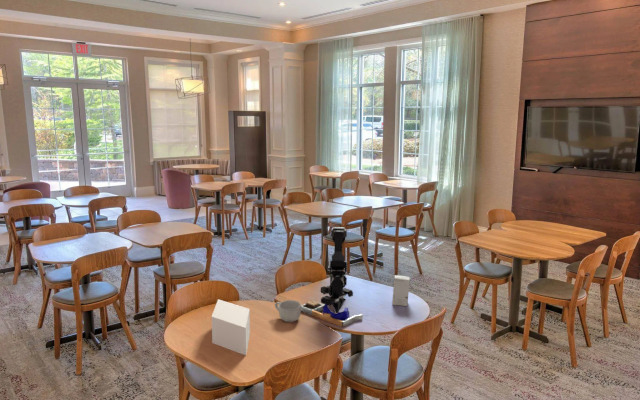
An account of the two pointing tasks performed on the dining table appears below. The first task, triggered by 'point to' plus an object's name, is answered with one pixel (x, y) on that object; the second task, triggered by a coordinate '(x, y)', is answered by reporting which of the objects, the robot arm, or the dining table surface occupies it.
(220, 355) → the dining table surface
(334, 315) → the cable clip
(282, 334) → the dining table surface
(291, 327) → the dining table surface
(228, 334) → the block
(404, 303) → the skincare box
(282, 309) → the teacup
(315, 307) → the rack
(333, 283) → the robot arm
